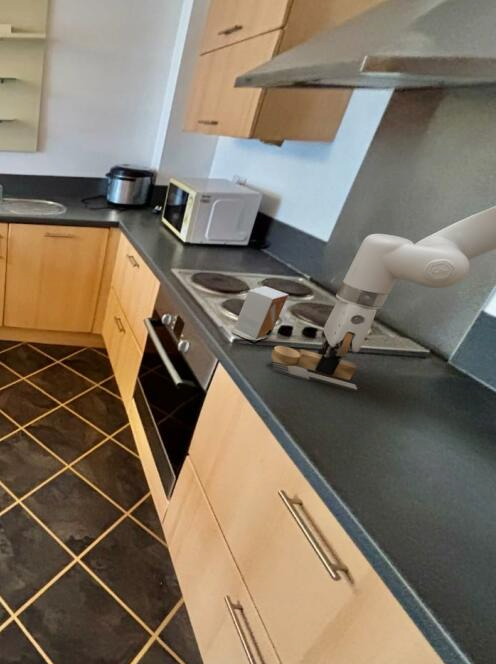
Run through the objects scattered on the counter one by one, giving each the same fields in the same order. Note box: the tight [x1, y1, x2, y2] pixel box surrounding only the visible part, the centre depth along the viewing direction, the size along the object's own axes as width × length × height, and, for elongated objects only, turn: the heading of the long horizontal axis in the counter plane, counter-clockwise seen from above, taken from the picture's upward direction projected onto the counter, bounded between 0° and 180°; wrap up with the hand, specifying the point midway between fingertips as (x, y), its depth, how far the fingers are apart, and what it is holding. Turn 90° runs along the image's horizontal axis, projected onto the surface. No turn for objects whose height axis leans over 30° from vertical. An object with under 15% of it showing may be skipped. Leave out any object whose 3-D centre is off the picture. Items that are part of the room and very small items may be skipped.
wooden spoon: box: [270, 345, 357, 381], centre depth 94 cm, size 15×5×3 cm, turn 61°
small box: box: [233, 285, 289, 339], centre depth 110 cm, size 8×6×13 cm
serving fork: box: [271, 360, 358, 393], centre depth 95 cm, size 16×5×1 cm, turn 61°
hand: (322, 368), depth 94 cm, fingers closed on wooden spoon, 2 cm apart
